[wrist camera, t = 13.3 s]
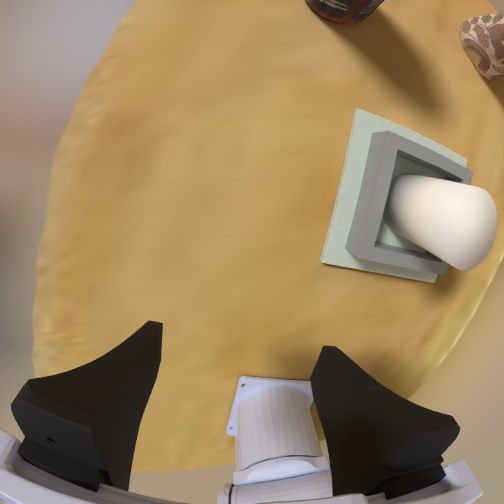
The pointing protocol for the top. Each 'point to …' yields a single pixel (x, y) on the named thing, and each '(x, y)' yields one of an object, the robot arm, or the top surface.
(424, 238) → the cream white egg
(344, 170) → the cup holder
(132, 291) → the top surface
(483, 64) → the figurine
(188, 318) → the top surface
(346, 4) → the supplement bottle
